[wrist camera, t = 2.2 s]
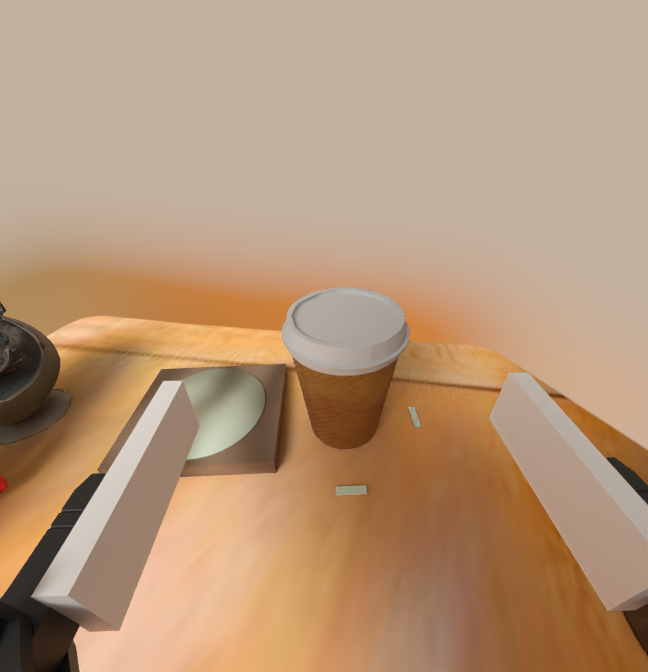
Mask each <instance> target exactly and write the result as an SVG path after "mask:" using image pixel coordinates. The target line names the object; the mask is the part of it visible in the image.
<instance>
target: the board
mask: <svg viewBox="0 0 648 672" xmlns="http://www.w3.org/2000/svg"><path fill="white" fill-rule="evenodd" d="M286 378H287V371H286V364H276V365H253V366H230V367H206V368H183V369H161V371H160V372H159V374H158V375H157V377H156V378H155V380H154V382H153V383H152V385H151V386H150V388H149V389H148V391H147V393H146V394H145V396H144V397H143V399H142V400H141V402H140V404H139V405H138V407H137V408H136V410H135V411H134V413H133V415H132V416H131V418H130V419H129V421H128V422H127V424H126V425H125V427H124V429H123V430H122V432H121V433H120V435H119V436H118V438H117V440H116V441H115V443H114V444H113V446H112V447H111V449H110V451H109V452H108V454H107V455H106V457H105V458H104V460H103V462H102V463H101V465H100V466H99V468H98V469H97V470H98V471H99V473H107V472H108V470H109V469H110V467H111V465H112V464H113V462H114V461H115V459H116V457H117V456H118V454H119V452H120V451H121V449H122V448H123V446H124V444H125V443H126V441H127V439H128V438H129V436H130V435H131V433H132V431H133V430H134V428H135V426H136V425H137V423H138V421H139V420H140V418H141V417H142V415H143V413H144V412H145V410H146V408H147V407H148V405H149V404H150V402H151V400H152V399H153V397H154V395H155V394H156V392H157V391H158V389H159V387H160V386H161V384H162V382H163V381H183V382H184V385H185V388H186V391H187V393H188V396H189V399H190V401H191V404H192V407H193V409H194V412H195V415H196V418H197V420H198V423H199V426H200V427H199V429H198V432H197V434H196V437H195V439H194V442H193V444H192V447H191V449H190V452H189V455H188V457H187V460H186V462H185V465H184V467H183V470H182V472H181V475H180V477H187V476H209V475H232V474H254V473H276V468H277V459H278V450H279V441H280V432H281V423H282V414H283V405H284V396H285V387H286Z"/></svg>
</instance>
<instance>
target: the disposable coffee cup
mask: <svg viewBox="0 0 648 672" xmlns="http://www.w3.org/2000/svg"><path fill="white" fill-rule="evenodd" d="M409 335H410V332H409V327H408V325H407V323H406V321H405V315H404V312H403V310H402V308H401V307H400V305H399V304H397V303H396V302H395V301H394V300H393V299H391V298H389V297H387V296H385V295H383V294H381V293H377V292H374V291H371V290H366V289H360V288H343V287H341V288H331V289H325V290H320V291H316V292H313V293H310V294H308V295H306V296H304V297H302V298H300V299H298V300H297V301H296V302H294V303H293V305H292V306H291V307H290V308H289V310H288V312H287V317H286V321H285V323H284V325H283V328H282V340H283V343H284V344H285V346H286V348H287V350H288V351H289V352H290V354H291V355H292V357H293V360H294V364H295V366H296V367H295V368H296V371H297V375H298V378H299V382H300V386H301V389H302V392H303V397H304V400H305V404H306V406H307V410H308V414H309V418H310V421H311V425H312V429H313V431H314V433H315V435H316V436H317V437H318V438H319V439H320V440H321V441H322V442H324V443H325V444H327V445H329V446H331V447H335V448H339V449H350V448H355V447H359V446H361V445H363V444H364V443H366V442H367V441H369V440H370V439H371V438H372V436H373V435H374V433H375V431H376V428H377V424H378V421H379V418H380V415H381V411H382V408H383V405H384V402H385V398H386V395H387V392H388V389H389V386H390V382H391V379H392V376H393V372H394V370H395V366H396V363H397V360H398V357H399V355H400V354H401V353H402V352H403V351H404V349H405V347H406V345H407V343H408V342H409Z"/></svg>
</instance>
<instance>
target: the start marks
mask: <svg viewBox="0 0 648 672" xmlns="http://www.w3.org/2000/svg"><path fill="white" fill-rule="evenodd" d="M408 410H409V413H410V416H411V419H412V421H413V424H414V427H415V428H421V424H420V421H419V418H418V415H417V413H416V410H415V407H414V406H409V407H408ZM335 491H336V496H341V495H363V494H367V488H366V485H360V486H338V487H335Z"/></svg>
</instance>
